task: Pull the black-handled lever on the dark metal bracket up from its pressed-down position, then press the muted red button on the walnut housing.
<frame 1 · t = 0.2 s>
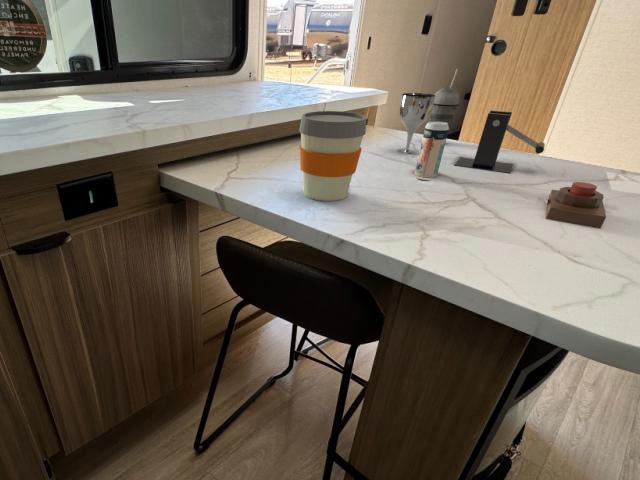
hand: (527, 15, 79), 31 cm above the table, tool pointing down, fingers open, 8 cm apart
button: (582, 189, 75), point 4 cm above the table, slide at 0.1 cm
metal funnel: (405, 157, 112), on the table
button box: (571, 213, 77), on the table
lever: (517, 133, 94), point 9 cm above the table, hinge at -25.0°
bracket: (482, 169, 101), on the table
supplement bottle: (424, 179, 95), on the table
beverage cup: (433, 148, 120), on the table
reusable coffee cup: (324, 194, 86), on the table
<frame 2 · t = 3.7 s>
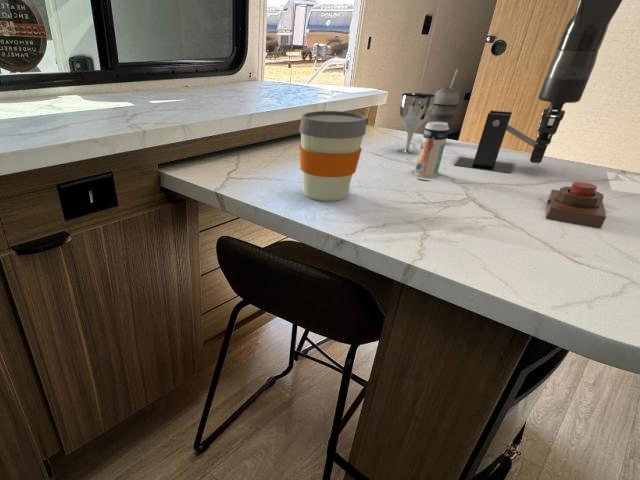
hand: (535, 159, 95), 4 cm above the table, tool pointing down, fingers closed on lever, 5 cm apart
lever: (517, 133, 94), point 9 cm above the table, hinge at -25.1°, touching gripper
everything else where it was.
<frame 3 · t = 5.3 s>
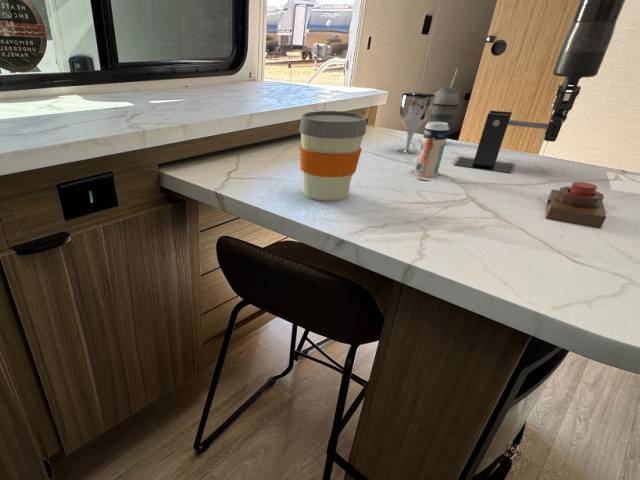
hand: (549, 138, 92), 9 cm above the table, tool pointing down, fingers closed on lever, 5 cm apart
lever: (523, 123, 93), point 11 cm above the table, hinge at -0.8°, touching gripper
everything else where it was.
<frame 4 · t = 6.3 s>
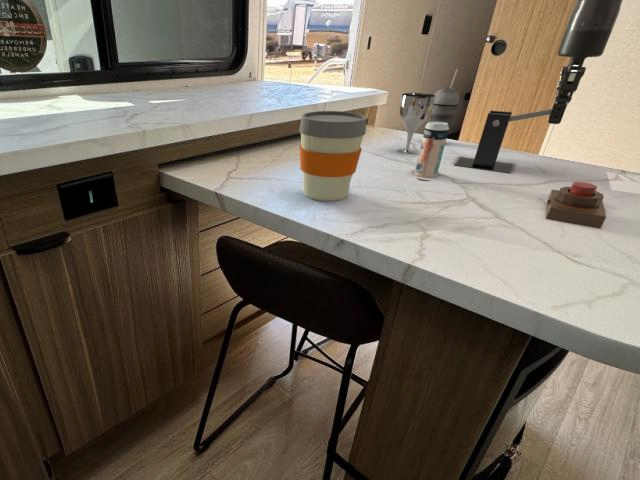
hand: (554, 121, 90), 12 cm above the table, tool pointing down, fingers closed on lever, 5 cm apart
lever: (524, 116, 92), point 12 cm above the table, hinge at 16.6°, touching gripper
everything else where it was.
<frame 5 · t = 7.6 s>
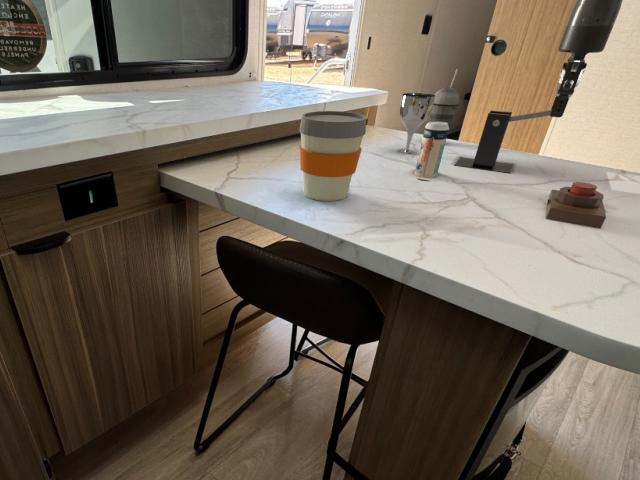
hand: (555, 113, 89), 13 cm above the table, tool pointing down, fingers open, 8 cm apart
lever: (524, 116, 92), point 12 cm above the table, hinge at 15.5°
everything else where it was.
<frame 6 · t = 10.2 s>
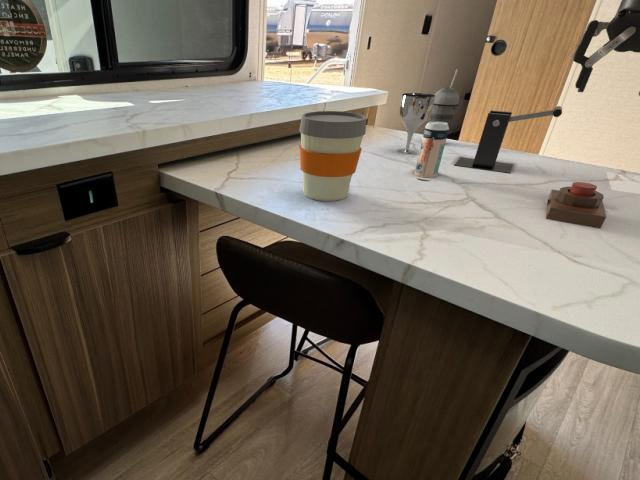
hand: (610, 93, 71), 20 cm above the table, tool pointing down, fingers open, 8 cm apart
nothing on the table moved.
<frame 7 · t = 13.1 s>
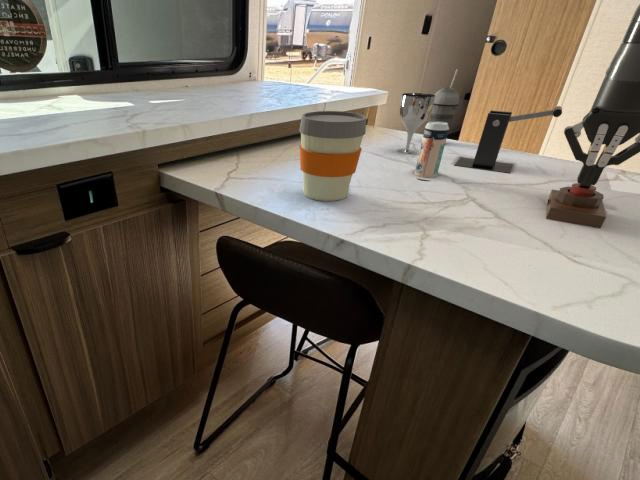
hand: (584, 186, 74), 5 cm above the table, tool pointing down, fingers closed
button: (582, 191, 75), point 4 cm above the table, slide at -0.1 cm, touching gripper
everything else where it was.
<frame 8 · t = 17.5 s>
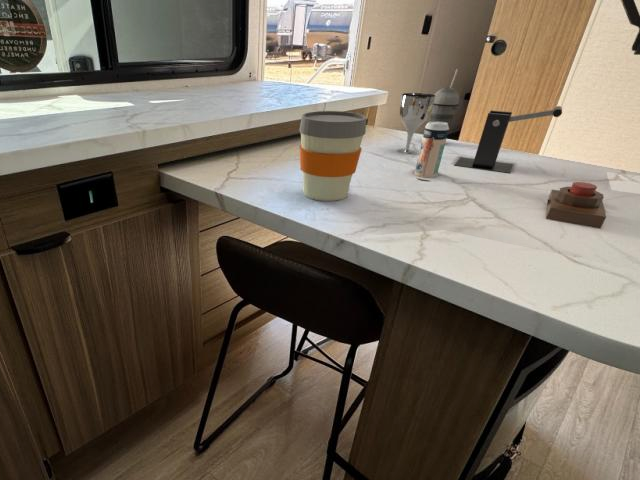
hand: (639, 54, 73), 25 cm above the table, tool pointing down, fingers closed
button: (582, 189, 75), point 4 cm above the table, slide at 0.1 cm
everything else where it was.
at the end: lever at +16° (first picture: -25°); button pushed in 1.1 cm at the most during the clip, back to where it started at the end; button slide at 0.1 cm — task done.
